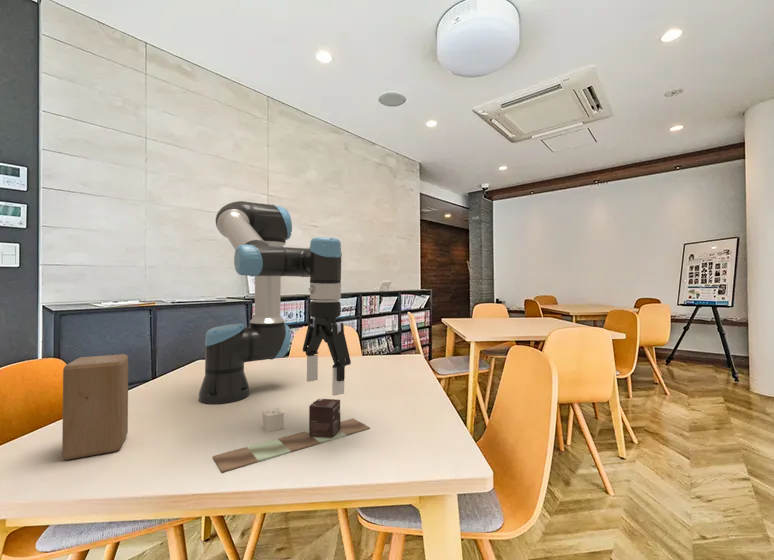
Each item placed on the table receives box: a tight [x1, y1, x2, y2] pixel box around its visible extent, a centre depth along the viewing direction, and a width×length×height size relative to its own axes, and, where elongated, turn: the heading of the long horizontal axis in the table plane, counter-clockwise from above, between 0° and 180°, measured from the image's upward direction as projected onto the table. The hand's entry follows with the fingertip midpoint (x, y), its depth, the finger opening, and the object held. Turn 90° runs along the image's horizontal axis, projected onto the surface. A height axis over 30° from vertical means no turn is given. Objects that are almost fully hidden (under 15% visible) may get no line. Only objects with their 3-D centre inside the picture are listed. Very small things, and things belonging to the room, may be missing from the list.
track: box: [212, 417, 371, 474], centre depth 83 cm, size 8×35×1 cm, turn 128°
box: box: [308, 398, 341, 438], centre depth 88 cm, size 6×6×7 cm
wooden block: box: [61, 353, 129, 460], centre depth 81 cm, size 10×10×20 cm
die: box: [262, 408, 285, 433], centre depth 92 cm, size 4×4×4 cm
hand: (324, 387), depth 88 cm, fingers open, 13 cm apart
